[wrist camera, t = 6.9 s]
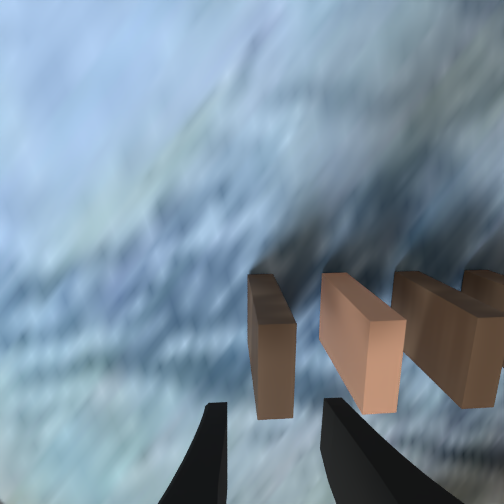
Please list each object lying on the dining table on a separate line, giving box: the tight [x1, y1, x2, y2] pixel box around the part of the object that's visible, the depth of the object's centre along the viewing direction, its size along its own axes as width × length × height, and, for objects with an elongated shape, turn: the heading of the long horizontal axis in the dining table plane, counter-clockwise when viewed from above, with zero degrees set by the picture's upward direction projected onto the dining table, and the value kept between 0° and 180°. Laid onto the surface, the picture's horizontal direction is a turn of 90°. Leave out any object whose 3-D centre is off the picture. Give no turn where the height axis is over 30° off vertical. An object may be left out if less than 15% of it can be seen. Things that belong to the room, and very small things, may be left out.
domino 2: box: [391, 271, 504, 409], centre depth 18 cm, size 2×5×7 cm, turn 0°
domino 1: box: [248, 274, 297, 420], centre depth 17 cm, size 2×5×7 cm, turn 0°
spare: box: [319, 273, 407, 415], centre depth 17 cm, size 2×5×7 cm, turn 0°
